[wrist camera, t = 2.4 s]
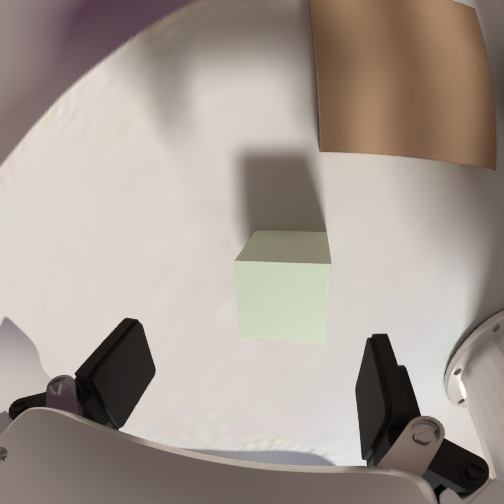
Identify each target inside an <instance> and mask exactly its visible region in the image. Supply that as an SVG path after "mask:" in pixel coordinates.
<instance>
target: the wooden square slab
mask: <svg viewBox="0 0 504 504" xmlns="http://www.w3.org/2000/svg"><path fill="white" fill-rule="evenodd" d="M308 1H309V8H310V16H311V25H312V34H313V44H314V54H315V66H316V79H317V95H318V114H319V140H320V152H344V153H364V154H379V155H392V156H403V157H413V158H422V159H430V160H438V161H445V162H452V163H458V164H465V165H470V166H476V167H482V168H487V169H492V170H496V122H495V108H494V98H493V89H492V82H491V75H490V69H489V64H488V58H487V53H486V49H485V44H484V40H483V36H482V32H481V28H480V25H479V21H478V18H477V14H476V11H475V8H472V7H469V6H467V5H464V4H461V3H458V2H455V1H452V0H308Z"/></svg>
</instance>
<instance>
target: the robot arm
mask: <svg viewBox="0 0 504 504" xmlns="http://www.w3.org/2000/svg"><path fill="white" fill-rule="evenodd" d="M155 371H156V369H155V365H154V362H153V359H152V356H151V353H150V349H149V346H148V343H147V339H146V336H145V332H144V329H143V325H142V324H141V323H140V322H139V321H138V320H137V319H131V318H125V319H124V320H123V321H122V322H121V323H120V324H119V325H118V326H117V327H116V328H115V329H114V330H113V331H112V332H111V334H110V335H109V336H108V337H107V338H106V339H105V340H104V341H103V342H102V343H101V344H100V346H99V347H98V348H97V349H96V350H95V351H94V352H93V353H92V354H91V355H90V357H89V358H88V359H87V360H86V361H85V362H84V363H83V364H82V366H81V367H80V368H79V369H78V370H77V371H76V372H75V375H76V378H75V379H73V378H72V377H71V376H69V375H60V376H57V377H55V378H53V379H52V380H51V381H50V382H49V383H48V385H47V389H46V392H44V393H40V394H36V395H32V396H28V397H24V398H20V399H17V400H16V401H14V402H13V403H12V404H11V406H10V408H9V413H7V411H4V412H2V413H0V504H504V310H503V311H501V312H499V313H498V314H496V315H494V316H492V317H491V318H489V319H488V320H487V321H485V322H484V323H483V324H481V325H480V326H479V327H478V328H477V329H476V330H474V332H473V333H472V334H471V335H470V336H469V337H468V338H467V339H466V340H465V341H464V343H463V344H462V345H461V346H460V348H459V349H458V350H457V352H456V354H455V355H454V357H453V358H452V360H451V362H450V364H449V366H448V368H447V372H446V375H445V380H444V387H445V392H446V394H447V397H448V399H449V400H450V402H451V403H452V404H454V405H456V406H459V407H467V408H468V410H469V413H470V415H471V418H472V421H473V423H474V426H475V429H476V432H477V435H478V438H479V441H480V444H481V447H482V450H483V453H484V456H485V460H486V461H485V460H484V459H483V458H481V457H479V456H477V455H475V454H473V453H471V452H469V451H468V450H466V449H464V448H462V447H460V446H458V445H456V444H454V443H452V442H450V441H449V440H447V439H445V438H444V436H445V430H444V427H443V425H442V424H441V423H440V421H438V420H437V419H435V418H433V417H430V416H421V414H420V410H419V407H418V404H417V400H416V397H415V394H414V391H413V387H412V384H411V381H410V378H409V375H408V372H407V369H406V367H405V366H404V365H399V366H398V364H397V361H396V358H395V355H394V352H393V349H392V346H391V343H390V340H389V337H388V335H387V334H373V335H372V337H371V338H367V341H366V346H365V350H364V355H363V359H362V363H361V367H360V371H359V375H358V379H357V383H356V389H355V393H356V402H357V411H358V420H359V430H360V441H361V454H362V459H363V460H366V461H367V466H298V465H281V464H268V463H259V462H250V461H242V460H235V459H228V458H222V457H217V456H211V455H206V454H201V453H196V452H191V451H187V450H183V449H178V448H174V447H170V446H167V445H163V444H159V443H156V442H152V441H149V440H145V439H142V438H139V437H136V436H133V435H130V434H127V433H124V432H121V431H118V430H119V428H121V427H123V426H124V424H125V423H126V421H127V419H128V418H129V416H130V414H131V413H132V411H133V410H134V408H135V406H136V405H137V403H138V401H139V400H140V398H141V396H142V395H143V393H144V392H145V390H146V388H147V387H148V385H149V383H150V382H151V380H152V379H153V377H154V375H155ZM371 466H374V467H371ZM489 474H490V477H489Z"/></svg>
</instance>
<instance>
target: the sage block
mask: <svg viewBox="0 0 504 504" xmlns="http://www.w3.org/2000/svg"><path fill="white" fill-rule="evenodd" d="M235 272H236V287H237V301H238V314H239V328H240V338H246V339H257V340H269V341H284V342H301V343H324V341H325V333H326V323H327V314H328V303H329V292H330V279H331V257H330V250H329V243H328V236H327V232H320V231H279V230H256V231H255V232H254V234H253V235H252V237H251V238H250V239H249V241H248V242H247V244H246V245H245V247H244V248H243V250H242V251H241V252H240V254H239V255H238V257H237V258H236V260H235Z"/></svg>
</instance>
